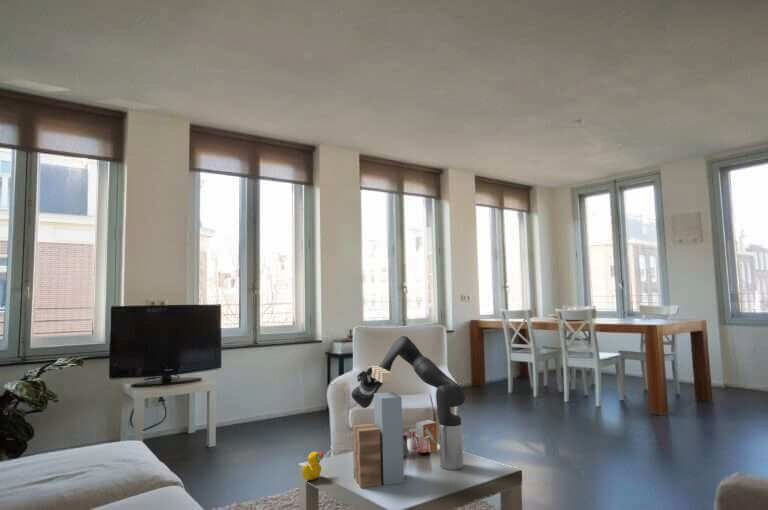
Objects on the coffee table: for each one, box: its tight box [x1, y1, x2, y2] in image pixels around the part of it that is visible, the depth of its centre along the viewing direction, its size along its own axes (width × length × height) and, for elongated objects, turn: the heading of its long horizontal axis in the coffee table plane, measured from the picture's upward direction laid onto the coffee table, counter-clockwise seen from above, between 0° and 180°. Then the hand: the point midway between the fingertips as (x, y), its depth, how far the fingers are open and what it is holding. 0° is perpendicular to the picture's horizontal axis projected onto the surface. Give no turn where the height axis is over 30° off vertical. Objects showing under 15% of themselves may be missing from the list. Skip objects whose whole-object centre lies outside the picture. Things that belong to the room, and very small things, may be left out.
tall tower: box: [373, 391, 405, 486], centre depth 197 cm, size 12×8×32 cm, turn 15°
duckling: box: [302, 451, 324, 481], centre depth 198 cm, size 11×5×10 cm, turn 150°
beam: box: [368, 365, 393, 384], centre depth 209 cm, size 22×4×4 cm, turn 16°
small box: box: [414, 419, 438, 453], centre depth 231 cm, size 8×6×13 cm
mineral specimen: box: [403, 439, 409, 457], centre depth 225 cm, size 7×9×8 cm
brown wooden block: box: [352, 422, 382, 489], centre depth 194 cm, size 12×8×20 cm, turn 15°
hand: (376, 369), depth 215 cm, fingers closed on beam, 4 cm apart
